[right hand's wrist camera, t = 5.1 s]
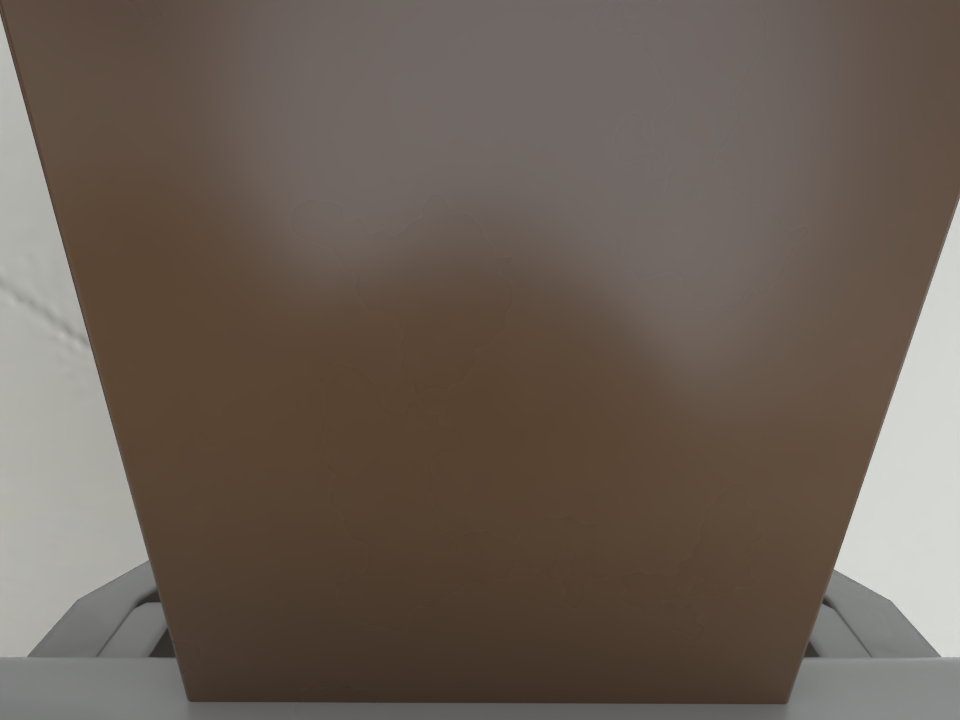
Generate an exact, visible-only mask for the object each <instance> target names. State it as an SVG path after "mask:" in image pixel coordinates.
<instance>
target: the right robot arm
mask: <svg viewBox="0 0 960 720" xmlns="http://www.w3.org/2000/svg"><path fill="white" fill-rule="evenodd" d="M0 720H960V657H941V656H940V655H939V654H938V653H937V652H936V650H935V649H934V648H933V647H932V646H931V645H930V644H929V643H928V642H927V640H926V639H925V638H924V637H923V636H922V635H921V634H920V633H919V632H918V630H917V629H916V628H915V627H914V626H913V625H912V624H911V623H910V622H909V620H908V619H907V618H906V617H905V616H904V615H903V614H902V613H901V612H900V610H899V609H898V608H897V607H896V606H895V605H894V604H893V603H892V602H891V601H890V600H888V599H886V598H885V597H883V596H881V595H879V594H877V593H876V592H874V591H872V590H870V589H868V588H867V587H865V586H863V585H861V584H859V583H857V582H856V581H854V580H852V579H850V578H848V577H847V576H845V575H843V574H841V573H839V572H838V571H836V570H834V569H833V572H832V575H831V578H830V581H829V584H828V587H827V590H826V592H825V595H824V598H823V601H822V604H821V607H820V610H819V613H818V616H817V619H816V622H815V625H814V628H813V631H812V634H811V637H810V640H809V642H808V645H807V648H806V651H805V654H804V657H803V660H802V663H801V666H800V669H799V672H798V675H797V678H796V681H795V684H794V687H793V689H792V692H791V695H790V698H789V701H788V703H786V704H578V703H319V702H190V701H188V700H187V696H186V693H185V689H184V685H183V682H182V678H181V674H180V671H179V667H178V663H177V660H176V656H175V652H174V649H173V645H172V641H171V638H170V634H169V630H168V627H167V623H166V619H165V616H164V612H163V608H162V605H161V601H160V597H159V594H158V590H157V586H156V583H155V579H154V575H153V572H152V568H151V564H150V561H147V562H145V563H143V564H142V565H140V566H138V567H136V568H134V569H133V570H131V571H129V572H127V573H125V574H124V575H122V576H120V577H118V578H116V579H115V580H113V581H111V582H109V583H107V584H106V585H104V586H102V587H100V588H98V589H97V590H95V591H93V592H91V593H89V594H88V595H86V596H84V597H82V598H80V599H79V600H77V601H76V602H75V603H74V605H73V606H72V607H71V608H70V609H69V610H68V611H67V612H66V614H65V615H64V616H63V617H62V618H61V619H60V620H59V621H58V622H57V624H56V625H55V626H54V627H53V628H52V629H51V630H50V631H49V633H48V634H47V635H46V636H45V637H44V638H43V639H42V640H41V642H40V643H39V644H38V645H37V646H36V647H35V648H34V649H33V651H32V652H31V653H30V654H29V655H28V656H27V657H0Z"/></svg>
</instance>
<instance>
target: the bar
mask: <svg viewBox="0 0 960 720" xmlns="http://www.w3.org/2000/svg"><path fill="white" fill-rule="evenodd" d="M0 15H1V18H2V22H3V26H4V29H5V33H6V37H7V40H8V44H9V48H10V51H11V55H12V59H13V62H14V66H15V70H16V73H17V77H18V81H19V84H20V88H21V92H22V95H23V99H24V103H25V106H26V110H27V114H28V117H29V121H30V125H31V128H32V132H33V136H34V139H35V143H36V147H37V150H38V154H39V158H40V161H41V165H42V169H43V172H44V176H45V180H46V183H47V187H48V191H49V194H50V198H51V202H52V205H53V209H54V213H55V216H56V220H57V224H58V227H59V231H60V235H61V238H62V242H63V246H64V249H65V253H66V257H67V260H68V264H69V268H70V271H71V275H72V279H73V282H74V286H75V290H76V293H77V297H78V301H79V304H80V308H81V312H82V315H83V319H84V323H85V326H86V330H87V334H88V337H89V341H90V345H91V348H92V352H93V356H94V359H95V363H96V367H97V370H98V374H99V378H100V381H101V385H102V389H103V392H104V396H105V400H106V403H107V407H108V411H109V414H110V418H111V422H112V425H113V429H114V433H115V436H116V440H117V444H118V447H119V451H120V455H121V458H122V462H123V466H124V469H125V473H126V476H127V480H128V484H129V487H130V491H131V495H132V498H133V502H134V506H135V509H136V513H137V517H138V520H139V524H140V528H141V531H142V535H143V539H144V542H145V546H146V550H147V553H148V557H149V561H150V564H151V568H152V572H153V575H154V579H155V583H156V586H157V590H158V594H159V597H160V601H161V605H162V608H163V612H164V616H165V619H166V623H167V627H168V630H169V634H170V638H171V641H172V645H173V649H174V652H175V656H176V660H177V663H178V667H179V671H180V674H181V678H182V682H183V685H184V689H185V693H186V696H187V700H188V701H190V702H319V703H578V704H786V703H788V701H789V698H790V695H791V692H792V689H793V687H794V684H795V681H796V678H797V675H798V672H799V669H800V666H801V663H802V660H803V657H804V654H805V651H806V648H807V645H808V642H809V640H810V637H811V634H812V631H813V628H814V625H815V622H816V619H817V616H818V613H819V610H820V607H821V604H822V601H823V598H824V595H825V592H826V590H827V587H828V584H829V581H830V578H831V575H832V572H833V569H834V566H835V563H836V560H837V557H838V554H839V551H840V548H841V545H842V543H843V540H844V537H845V534H846V531H847V528H848V525H849V522H850V519H851V516H852V513H853V510H854V507H855V504H856V501H857V498H858V495H859V493H860V490H861V487H862V484H863V481H864V478H865V475H866V472H867V469H868V466H869V463H870V460H871V457H872V454H873V451H874V448H875V445H876V443H877V440H878V437H879V434H880V431H881V428H882V425H883V422H884V419H885V416H886V413H887V410H888V407H889V404H890V401H891V398H892V396H893V393H894V390H895V387H896V384H897V381H898V378H899V375H900V372H901V369H902V366H903V363H904V360H905V357H906V354H907V351H908V348H909V346H910V343H911V340H912V337H913V334H914V331H915V328H916V325H917V322H918V319H919V316H920V313H921V310H922V307H923V304H924V301H925V299H926V296H927V293H928V290H929V287H930V284H931V281H932V278H933V275H934V272H935V269H936V266H937V263H938V260H939V257H940V254H941V251H942V249H943V246H944V243H945V240H946V237H947V234H948V231H949V228H950V225H951V222H952V219H953V216H954V213H955V210H956V207H957V204H958V201H959V199H960V0H0Z"/></svg>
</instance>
